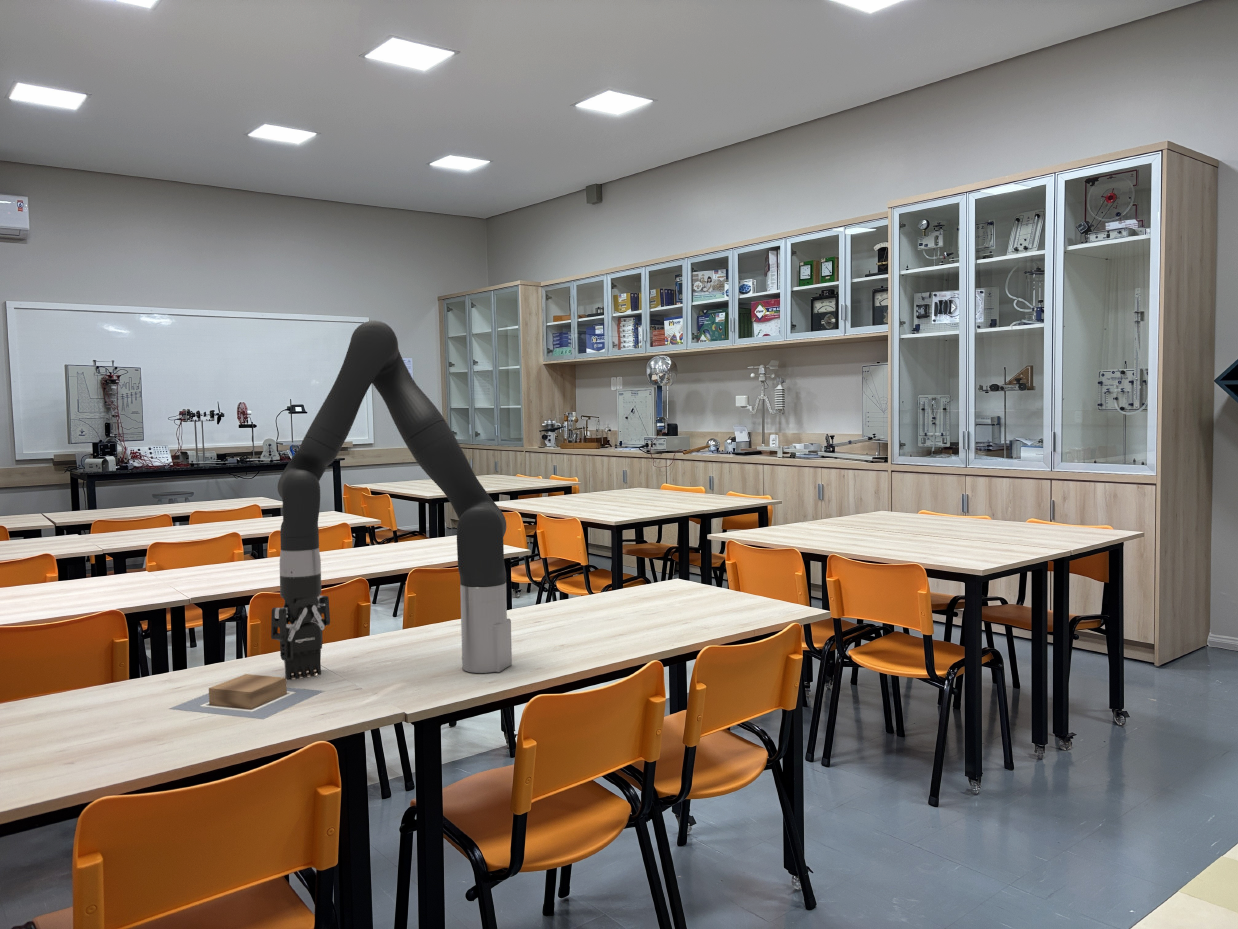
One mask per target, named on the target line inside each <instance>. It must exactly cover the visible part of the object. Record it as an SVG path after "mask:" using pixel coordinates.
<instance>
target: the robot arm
mask: <svg viewBox="0 0 1238 929" xmlns="http://www.w3.org/2000/svg"><path fill="white" fill-rule="evenodd" d="M372 385H373V387H374V388H375V389H376V390H377V392H378V393H379V394H380V396H381V398H382V400H383V401H384V404H385V405H386V408H387V409H388V412H389V414H390V416H391V419H392V421H393V424H394V425H395V427H396V429H397V431H398V432H399V434H400V436H401V438H402V441H403V442H404V444H405V445H406V447H407V448H408V450H409V452H410V453H411V455H412V457H413V458H414V460H415V461H416V462H417V464H418V465H419V467H420V468H421V469H422V470H423V472H424V473H425V474H426V475H427V476H428V477H429V478H430V479H431V480H432V481H433V482H434V484H436V486H437V487H438V488H439V489H440V491H441V492H443V494H444V495H445V496H446V498H447V500H448V501H449V503H450V505H451V507H452V509H453V510H454V512H455V514H456V516H457V519H458V521H457V525H456V551H457V552H456V554H457V556H456V557H457V568H458V569H457V570H458V574H459V582H460V583H459V584H460V585H459V586H460V623H461V624H460V625H461V627H460V628H461V629H460V631H461V632H460V633H461V634H460V636H461V661H462V662H461V665H462V667H461V668H462V670H463V671H465V672H468V673H472V674H473V673H475V674H487V673H500V672H502V671H503V670H505V669H507V668H508V667H510V666H512V665H513V658H512V657H513V652H512V649H513V648H512V646H513V645H512V620H511V618H508V612H507V611H508V609H507V607H508V606H507V570H506V566H505V555H504V553H505V551H504V550H505V549H504V537H505V535H506V533H507V520H506V517H505V515H504V513H503V511H502V509H500V508H499V506H498V505H497V503H495V501H494V500H493V498H492V497H491V496H490V494H489V493H488V492H487V490H486V489H485V487H483V485H482V484H481V482H480V481H479V479H478V477H477V476H476V475H475V472H474V470H473V469H472V466H471V465H470V463H469V460H468V459H467V456H466V454H465V452H464V451H463V449H462V447H461V445H460V443H459V441H458V439H457V438H456V436H455V434H454V433H453V431H452V429H451V427H450V426H449V424H448V423H447V420H445V418H444V416H443V415H442V414H441V411H440V410H438V408H437V406H435V404H434V403H433V402H432V401H431V400H430V398H429V397H428V396H427V395H426V394H425V393H424V392H423V390H422V389H421V388H420V386H418V384H417V383H416V382H415V380H414V379H413V376H412V374H411V373H410V371H409V369H408V367H407V364H405V361H404V359H403V357H402V355H401V352H400V349H399V342H398V338H397V335H396V332H395V331H394V330H393V329H392V328H391V326H389V325H388V324H387V323H386V322H382V321H381V320H369V321H365V322H363V323H361V324H360V325H359V326H357V327H356V328H355V329H354V331H353V332H352V334H351V337H350V342H349V344H348V347H347V350H346V355H345V357H344V359H343V363H342V365H341V368H340V370H339V373H338V374H337V377H336V379H335V381H334V383H333V385H332V387H331V389H330V390H329V392H328V394H327V395H326V398H325V399H324V401H323V403H322V404H321V406H320V408H319V410H318V412H317V414H316V415H315V417H314V419H313V420H312V422H311V424H310V426H309V428H308V430H307V431H306V433H305V435H304V437H303V439H302V441H301V444H300V446H299V448H298V449H297V451H296V452H295V454H294V455H293V457H292V458H291V459H290V460H289V462H288V464H287V465H286V467H285V468H284V470H283V471H282V473H281V475H280V477H279V479H278V482H277V492H278V495H279V496H280V498H281V500H282V501H281V502H282V521H281V525H280V529H279V530H280V533H279V535H280V536H279V537H280V553H279V586H280V587H279V595H280V598H282V599H283V600H284V603H283V604H284V605H283V607H272V608H271V621H270V622H271V623H270V624H271V626H270V627H271V628H270V632H271V633H270V634H271V635H270V637H271V640H277V641H279V650H280V651H279V653H280V658H281V660H282V661H284V660H285V661H290V660H292V659H293V641H292V639H293V636H294V634H295V632H296V631H298V630H299V628H300V626H301V625H304V624H305V623H310V622H311V621H314V622H316V623H317V624H318V625H319V626H320V628H321V635H322V636H323V630H325V627H326V626H329V625H330V624H331V615H330V613H331V612H330V598H329V596H328V595H321V594H322V564H321V563H322V562H321V560H322V559H321V552H320V536H319V535H320V532H319V530H320V529H319V516H320V507H321V485H320V480H321V479H322V477H323V475H324V473H325V471H326V469H327V468H328V467H329V465H331V464H332V463H333V462H334V461H335V459H336V458H337V457H338V454H339V452H340V451H341V449H342V447H343V446H344V443H345V442H346V440H347V437H348V436H349V433H350V432H351V429H352V426H353V424H354V422H355V420H356V417H357V414H358V413H359V411H360V410H359V409H360V407H361V405H362V402H363V400H364V399H365V396H366V394H367V392H368V391H369V388H370V387H371V386H372ZM322 614H323V615H322ZM278 629H279V632H278ZM288 630H289V633H288V635H287V634H286V632H287V631H288ZM323 642H324V641H323V637H322V644H323Z"/></svg>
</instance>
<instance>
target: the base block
mask: <svg viewBox="0 0 1238 929" xmlns="http://www.w3.org/2000/svg"><path fill="white" fill-rule="evenodd" d="M287 687H288V686H287V679H286V678H285V676H284V677H283V676H281V677H280V676H271V675H260V674H251V673H250V674H249V673H245V674H242V675H240V676H237V677H234V678H232V679H230V680H227V681H224V682H221V683H219V684H216V685H213V686H211V687H208V693H209V705H213V706H222V707H232V708H242V709H254V708H256V707H258V706H261V705H263V704H265V703H267V702H270V701H272V700H274V699H277V698H279V697H281V696H283V695H286V694H287Z"/></svg>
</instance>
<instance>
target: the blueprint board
mask: <svg viewBox="0 0 1238 929" xmlns="http://www.w3.org/2000/svg"><path fill="white" fill-rule="evenodd" d="M324 692H325V690H319V689H318V690H317V689H308V688H299V687H298V688H296V687H290V686H287V694H286V695H283V696H281V697H279V698H277V699H274V700H272V701H270V702H267V703H265V704H263V705H261V706H258V707H256V708H254V709H242V708H232V707H222V706H213V705H209V692H208V693H205V694H203V695H200V696H198V697H195V698H192V699H190V700H187V701H185V702H182V703H180V704H177V705H174V706H172V707H170V708H168V710H173V711H174V710H176V711H183V712H191V713H193V712H194V713H202V714H211V715H220V716H229V717H230V716H231V717H240V718H247V719H249V718H250V719H259V720H265V719H267V718H269V717H271V716H274V715H276V714H277V713H280V712H282V711H284V710H287V709H289V708H292V707H293V706H295V705H297V704H300V703H302V702H304V701H306V700H308V699H310V698H313V697H315V696H317V695H319V694H322V693H324Z"/></svg>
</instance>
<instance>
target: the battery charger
mask: <svg viewBox="0 0 1238 929" xmlns="http://www.w3.org/2000/svg"><path fill="white" fill-rule="evenodd" d="M288 633H289V630H288V631H287V632H286V634H287V635H288ZM322 638H323V634H322V635H321V628H320V626H319V625H318V624H317V623H316V622H314V621H311V622H310V623H305V624H304V625H301V626H300V628H299V630H298V631H296V632H295V634H294V636H293V639H292V641H293V659H292V660H290V661H285V660H283V663H284V664H283V665H284V678H286V681H287V680H288V681H289V680H296V679H303V678H306V677H307V678H310V677H312V676H313V677H316V676H321V675H322V670H321V669H322V668H321V667H322V666H321V665H322V664H321V654H322V653H321V652H322V651H321V650H322V649H323V643H322Z"/></svg>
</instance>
